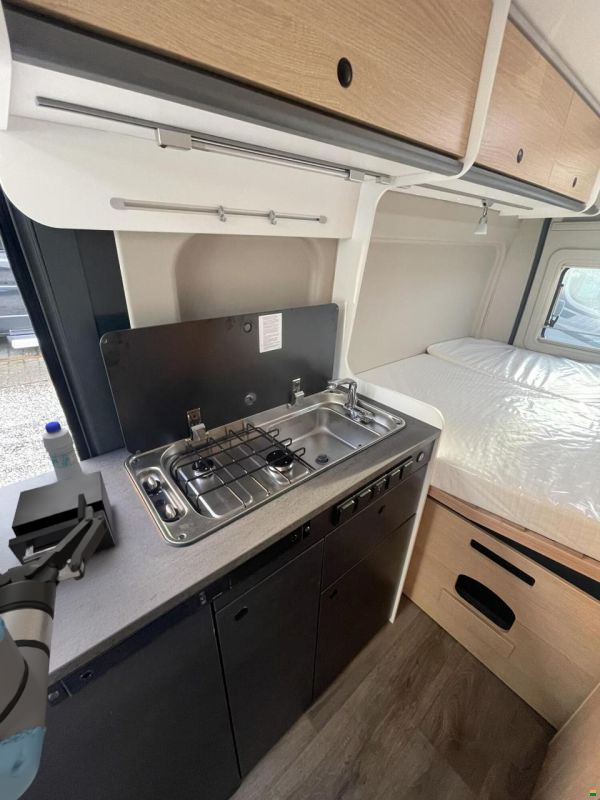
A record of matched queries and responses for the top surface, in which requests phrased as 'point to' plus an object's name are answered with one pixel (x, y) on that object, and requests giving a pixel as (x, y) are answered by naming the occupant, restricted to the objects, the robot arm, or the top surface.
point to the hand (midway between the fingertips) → (35, 513)
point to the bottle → (61, 452)
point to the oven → (60, 503)
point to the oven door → (52, 540)
